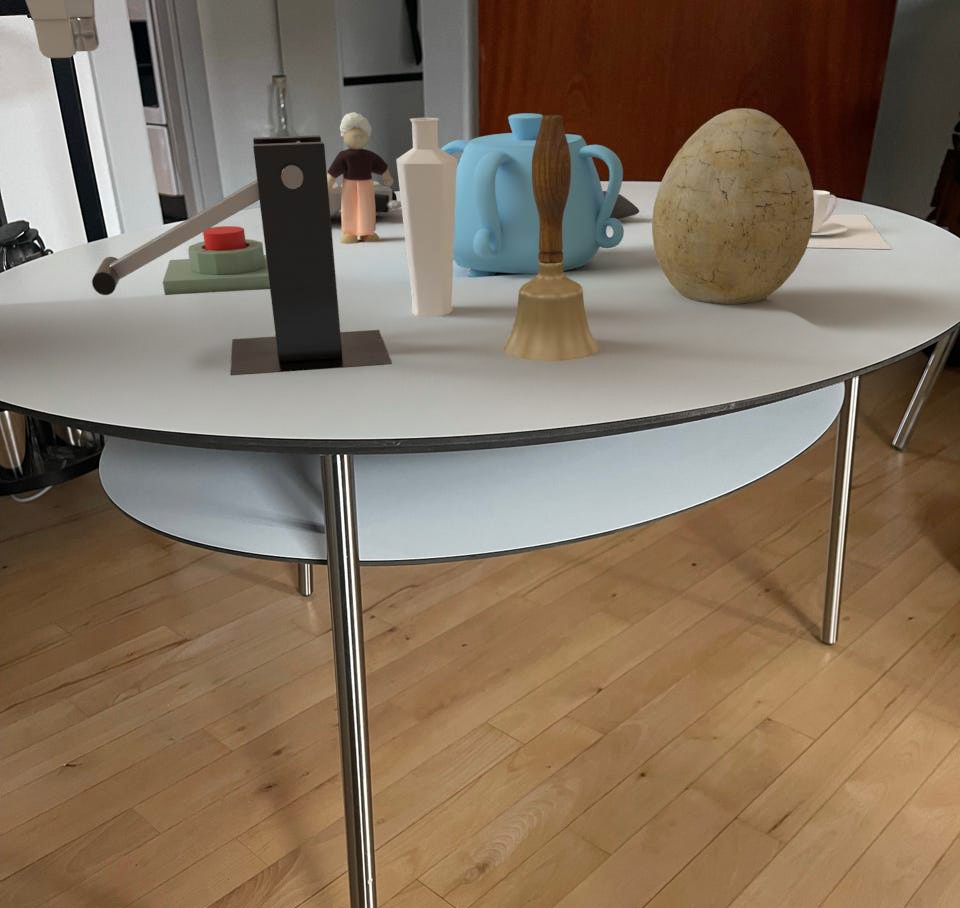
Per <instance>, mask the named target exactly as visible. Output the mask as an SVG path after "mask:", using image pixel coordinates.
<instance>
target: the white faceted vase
mask: <svg viewBox="0 0 960 908" xmlns="http://www.w3.org/2000/svg"><path fill="white" fill-rule="evenodd" d="M409 121H410V122H411V135H412V148H411V149H409V150H407V151H406V152H405V153H403V154H402V155H400V156H399V157H397V158H396V159H395V160H396V168H397V170H396V171H397V177H398V178H397V179H398V186H399V196H400V202H401V206H402V207H401V215H402V222H403V223H402V224H403V232H404V241H405V242H404V243H405V250H406V251H405V252H406V257H407V267H408V277H409V284H410V292H411V302H412V303H411V304H412V307H411V312H412V313H413V314H414V315H415V316H416V317H444V316H446V315H448V314H450V313H451V312H453V305H452V298H453V272H454V260H453V250H454V224H455V199H456V173H457V166H458V158H456V157H454V156H453V155H452V154H451V155H450V154H448V153H446V152H445V151H443V150H441V149H442V148H440V147H439V136H438V135H439V132H438V122H439V121H440V118H439V117H413V118H409Z"/></svg>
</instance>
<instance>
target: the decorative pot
mask: <svg viewBox="0 0 960 908" xmlns="http://www.w3.org/2000/svg"><path fill="white" fill-rule="evenodd" d="M542 116H544V115H543V114H541V113H530V112H529V113H526V112H525V113H514V114H510V115H509V116H508V117H507V119H508V124H509V125H510V130H511V132H506V133H505V132H504V133H495V134H488V135H483V136H479V137H475V138H472V139H470V140H465V139H456V140H453V141H451V142H448V143H446V144H445V145H444V146H442V148H440V149H441V150H443V151H445V152H446V153H448V154H450V155H451V156H452V154H454V153H459V152H461V156H460V159H459V161H458V163H457V173H456V199H455V224H454V250H453V262H455V264H456V265H457V266H458V267H461V268H463V269H468V270H469V269H470V270H469V271H468V273H467V276H469V277H472V278H485V277H494V276H495V275H496V273H505V274H520V275H523V274H524V275H538V272H539V262H540V260H539V259H538V254H539V252H540V250H539V232H540V221H539V214H538V209H537V206H536V202H535V198H534V193H533V185H532V157H533V152H534V147H535V143H536V140H537V136H538V133H539V130H540V125H541V120H542ZM565 135H566V139H567V142H568V146H569V150H570V157H571V181H570V189H569V195H568V199H567V203H566V206H565V209H564V214H563V220H562V241H563V249H562V252H563V271H565V272H566V271H569V270H573V269H578V268H581V266H584V265H586V264H588V263H589V262H590V261H591V260H592V259H593V258H594V256H595V255H596V254H597V252H598V251H599V249H600V248H602V249H612V248H616V247H617V246H618V245H619V244H621V242H622V240H623V238H624V233H625V229H624V226H623V224H622V222H621V221H620V219H616V218H610V215H611V213H612V210H613V208H614V205H615V203H616V200H617V198H618V195H619V194H620V192H621V188H622V185H623V179H624V178H623V177H624V168H623V165H622V162H621V160H620V158H619V157H618V155H617V154H616V153H615V152H614V151H612V150H611V149H610V148H608V147H606V146H604V145H602V144H601V145H600V144H589V145H588V144H587V142H586V140H585V139H584V138H583V136H581V135H578V134H570V133H565ZM593 158H597V159H600V160H602V161H603V162H605V164H606V165H607V167H608V170H609V172H608V173H609V177H608V185H607V189H606V191H607V192H606V195H605V198H604V195H603V191H604V190H603V187H602V183H601V180H600V177H599V174H598V171H597V168H596V165H595V162H594V159H593ZM608 227H611V229H612V236H610V237H609V236H608V233H607V228H608Z"/></svg>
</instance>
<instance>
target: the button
mask: <svg viewBox="0 0 960 908" xmlns="http://www.w3.org/2000/svg"><path fill="white" fill-rule="evenodd" d="M202 235H203V242H204V243H205V250H212V251H227V250H236V249H242V248H246V240H245V239H246V234H245V228H244V227H241V226H235V225H225V226H223V225H221V226H213V227H211V228H209V229H207V230H206V231H204V232H202Z"/></svg>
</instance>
